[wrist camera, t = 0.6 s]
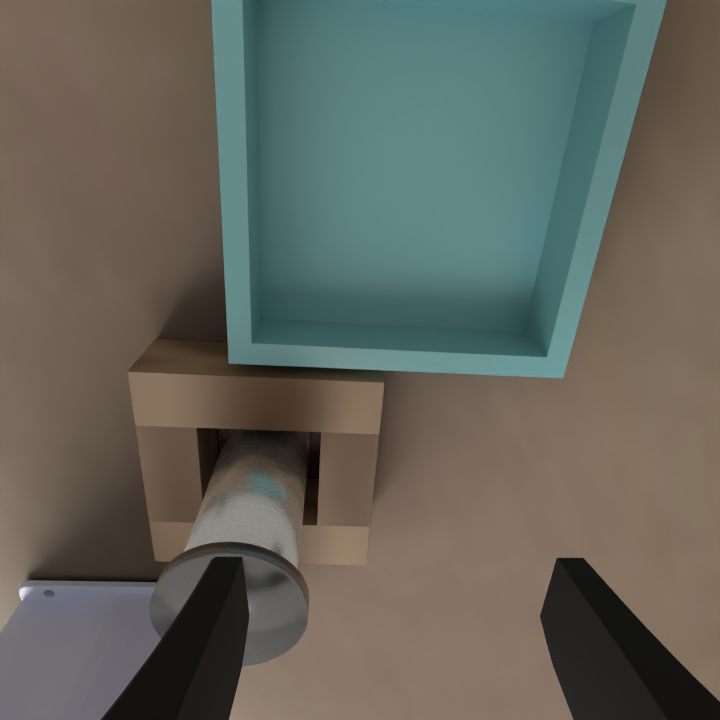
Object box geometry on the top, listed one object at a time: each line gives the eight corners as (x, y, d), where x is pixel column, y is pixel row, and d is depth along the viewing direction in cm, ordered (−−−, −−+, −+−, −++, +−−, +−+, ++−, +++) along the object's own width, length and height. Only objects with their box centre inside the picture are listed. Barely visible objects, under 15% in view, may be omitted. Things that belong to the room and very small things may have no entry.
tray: (243, 331, 20) (228, 363, 17) (231, -40, 15) (207, -79, 12) (533, 345, 21) (563, 378, 18) (616, -3, 16) (675, -31, 13)
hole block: (176, 511, 24) (154, 561, 21) (156, 338, 20) (127, 371, 17) (363, 516, 24) (365, 565, 21) (378, 349, 20) (384, 383, 18)
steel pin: (222, 474, 23) (157, 666, 15) (217, 390, 21) (140, 557, 13) (317, 476, 23) (306, 666, 15) (320, 395, 21) (309, 560, 13)
